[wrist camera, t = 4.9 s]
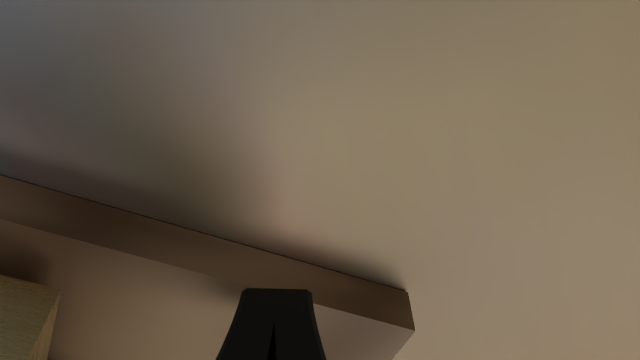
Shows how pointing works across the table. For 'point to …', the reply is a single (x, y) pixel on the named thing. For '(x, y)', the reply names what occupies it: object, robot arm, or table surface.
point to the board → (172, 284)
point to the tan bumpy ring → (26, 319)
